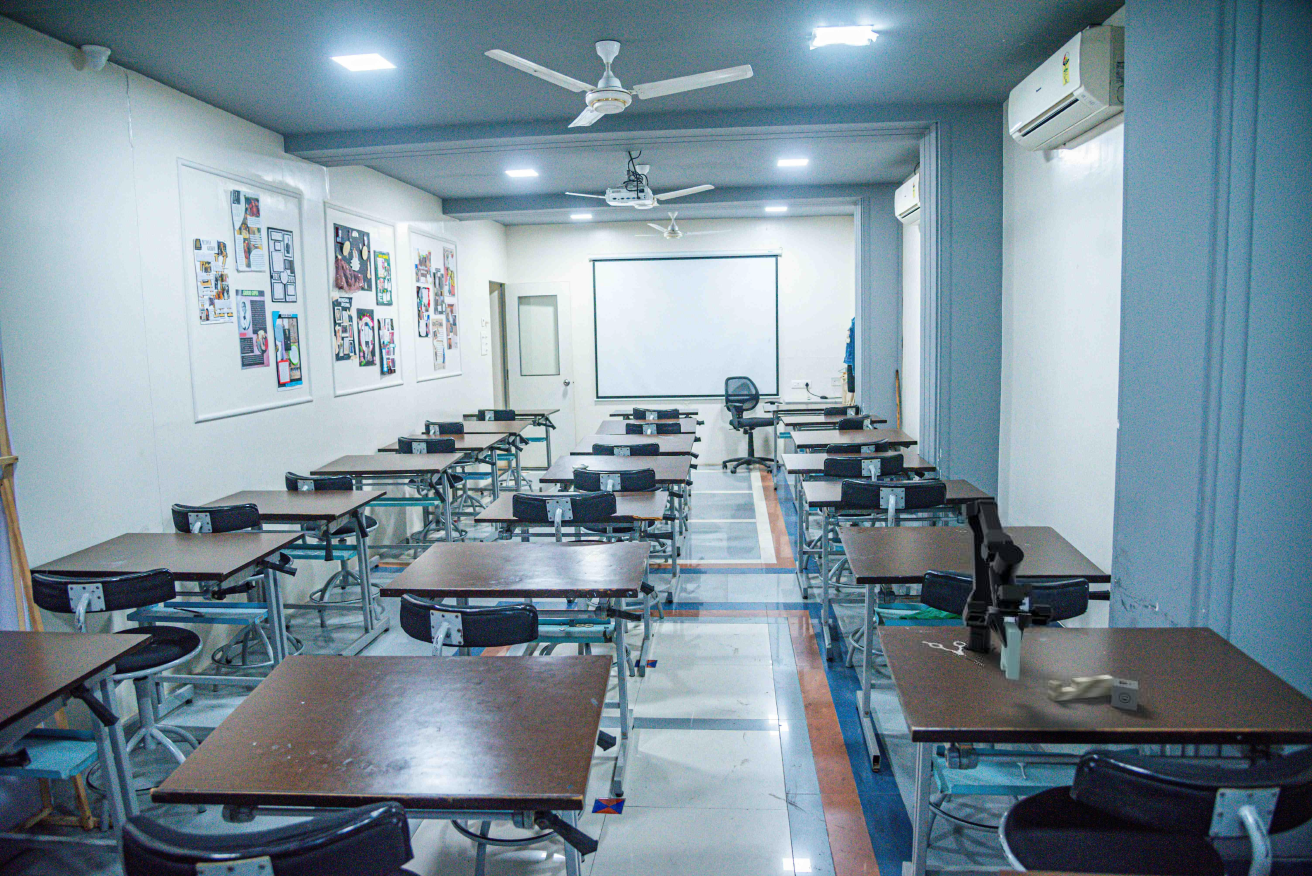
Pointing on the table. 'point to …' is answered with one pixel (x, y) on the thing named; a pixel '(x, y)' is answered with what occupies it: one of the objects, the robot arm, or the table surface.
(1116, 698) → the grey cube
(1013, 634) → the notched plate
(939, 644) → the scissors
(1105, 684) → the cream stepped bar
